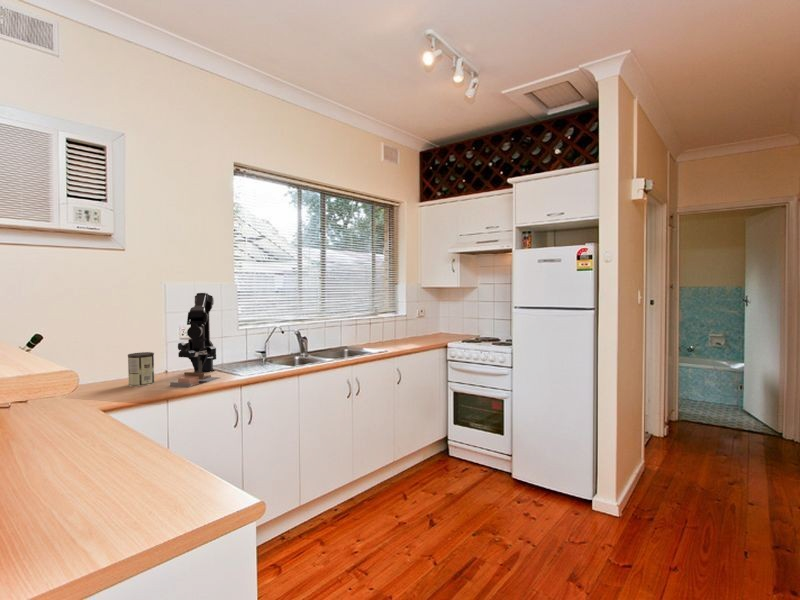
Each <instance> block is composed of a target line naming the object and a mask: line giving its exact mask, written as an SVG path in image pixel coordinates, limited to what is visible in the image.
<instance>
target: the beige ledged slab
mask: <svg viewBox="0 0 800 600" xmlns="http://www.w3.org/2000/svg"><path fill="white" fill-rule="evenodd" d="M193 371H194V372H190V371H186V372H184V373H183V377H185V376H199V379H200V380H203V379H207V378H211V377H212V374H205V372H202V360H200V362H199V366H198V370H197V371H195V370H194V369H193Z"/></svg>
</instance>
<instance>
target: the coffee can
mask: <svg viewBox="0 0 800 600" xmlns="http://www.w3.org/2000/svg"><path fill="white" fill-rule="evenodd" d="M154 355H155V352H151V351H145V352H144V351H143V352H133V353H128V354H127V362H128V363H127V365H128V366H127V369H128V370H127V372H128V373H127V374H128V376H127V377H128V387H129V386H130V388H134V387H143V386H149V385H153V384H155V358H154V357H155V356H154Z"/></svg>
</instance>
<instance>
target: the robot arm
mask: <svg viewBox="0 0 800 600" xmlns="http://www.w3.org/2000/svg"><path fill="white" fill-rule="evenodd" d="M214 301H215V300H214V297H213V295H210V294H209V293H207V292H198V293H196V295H195V296H194V306H193V307H190V309H189V311H188V313H187V320H186V325H187V326H189V325H190V326H189V328H188V329H187V332H186V334H187V336H188V337H189V338H188V342H186V343H185V342H184V341H183V342H182V341H181V342H179V343H177V350H178V351H179V352H178V353H177V354H178V358H188V359H189V360H190V362H191V363H192V364H191V365H192V367H193V371H194V370H195V371H197V370H198V366H199V362H200V360H202V373H209V372H210V371H211V372H214V371H213V370H214V363H213V361H215V360H217V348H216V347H215V346H214V343H213V342H212V341H211V332H210V326H211V325H210V324H211V323H210V312H211V310H212V309H213V305H214V303H215V302H214ZM211 372H210V373H211Z"/></svg>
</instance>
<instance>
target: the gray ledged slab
mask: <svg viewBox="0 0 800 600" xmlns="http://www.w3.org/2000/svg"><path fill="white" fill-rule="evenodd" d="M218 379H219V380H220V377H217V376H211V378H207V379H203V380H200V379H199V383H197V384H193V385H191V383H179V382H178V381H177V382H176V381H175V382H174V381H171V382H169V385H170V387H179V388H191V387H194V386H198V385H202V384H204V383H208V382H212V381H216V380H218Z"/></svg>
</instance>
